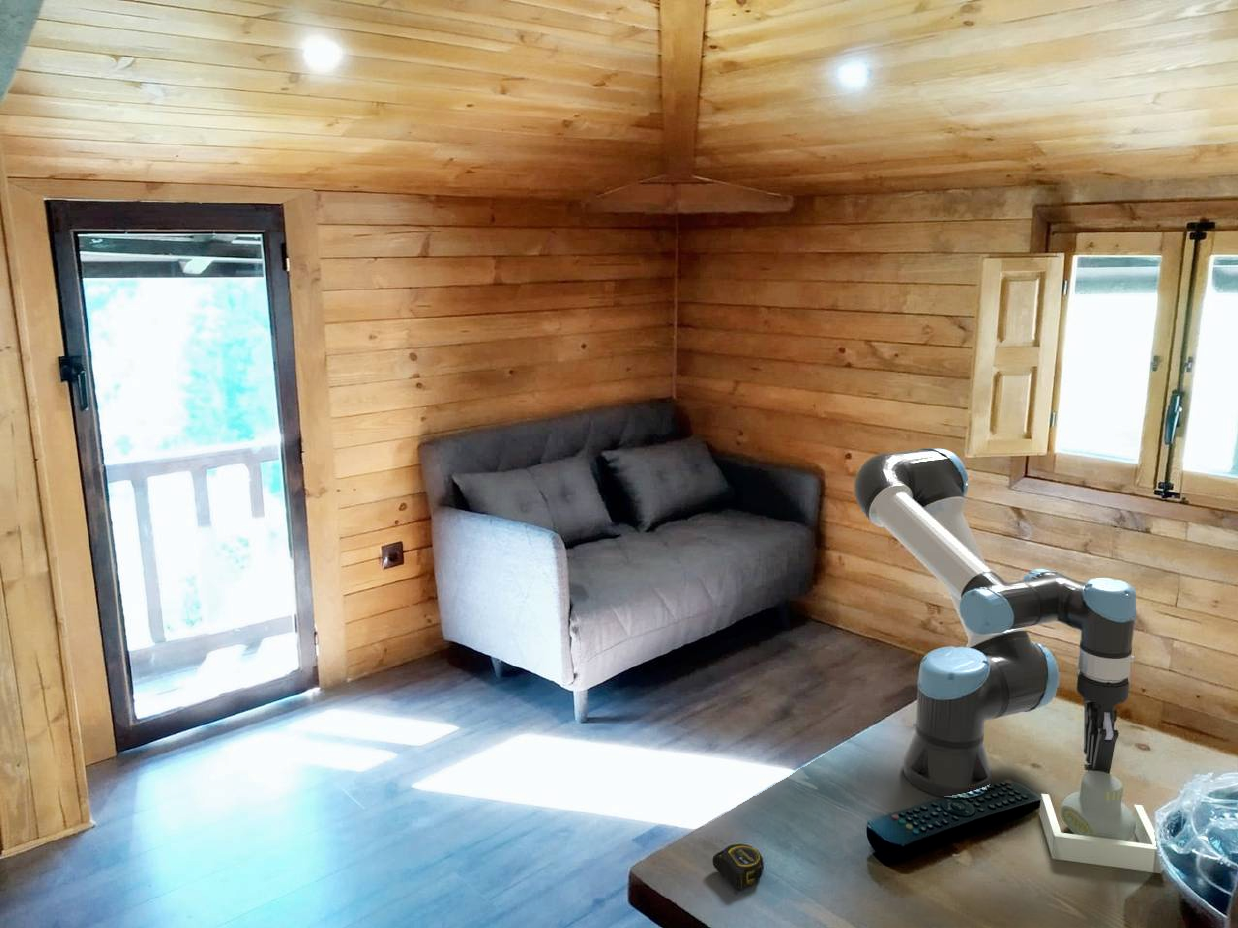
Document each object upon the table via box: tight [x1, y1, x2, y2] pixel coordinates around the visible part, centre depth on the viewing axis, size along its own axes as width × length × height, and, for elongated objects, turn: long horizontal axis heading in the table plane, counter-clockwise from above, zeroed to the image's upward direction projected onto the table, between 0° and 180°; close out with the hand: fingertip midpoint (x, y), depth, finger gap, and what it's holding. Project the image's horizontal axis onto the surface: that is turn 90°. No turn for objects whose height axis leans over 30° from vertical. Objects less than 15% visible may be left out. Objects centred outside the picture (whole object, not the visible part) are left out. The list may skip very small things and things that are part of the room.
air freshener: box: [1060, 771, 1136, 841], centre depth 152 cm, size 11×8×10 cm
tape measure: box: [712, 843, 765, 891], centre depth 144 cm, size 7×7×4 cm
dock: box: [1039, 793, 1163, 874], centre depth 151 cm, size 15×12×4 cm
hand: (1093, 801), depth 158 cm, fingers closed
